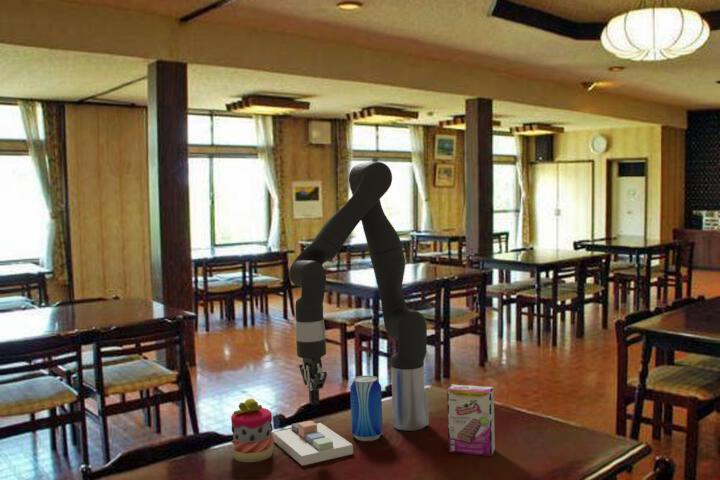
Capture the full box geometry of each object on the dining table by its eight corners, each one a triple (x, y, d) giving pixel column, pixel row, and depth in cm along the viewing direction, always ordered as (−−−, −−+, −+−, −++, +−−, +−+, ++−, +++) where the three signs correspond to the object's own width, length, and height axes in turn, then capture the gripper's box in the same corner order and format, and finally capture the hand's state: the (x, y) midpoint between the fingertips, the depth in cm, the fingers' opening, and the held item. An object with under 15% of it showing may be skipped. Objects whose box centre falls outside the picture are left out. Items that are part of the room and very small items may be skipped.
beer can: (380, 442, 180) (377, 383, 178) (349, 441, 181) (346, 382, 180) (385, 431, 188) (383, 374, 187) (355, 430, 189) (353, 374, 188)
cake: (228, 452, 177) (225, 395, 176) (267, 444, 181) (265, 389, 180) (237, 465, 167) (234, 406, 166) (279, 457, 171) (276, 399, 171)
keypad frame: (320, 431, 190) (320, 422, 190) (353, 453, 172) (352, 444, 172) (273, 441, 184) (273, 432, 183) (302, 465, 166) (301, 456, 166)
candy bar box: (447, 453, 170) (446, 389, 169) (451, 446, 175) (450, 383, 174) (492, 457, 167) (491, 391, 166) (495, 449, 172) (494, 386, 170)
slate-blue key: (319, 446, 178) (318, 431, 178) (325, 451, 175) (324, 435, 175) (306, 449, 177) (305, 434, 176) (311, 454, 173) (311, 438, 173)
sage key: (327, 452, 174) (326, 437, 174) (333, 457, 171) (332, 441, 171) (313, 455, 172) (312, 439, 172) (319, 460, 169) (318, 444, 169)
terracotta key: (311, 435, 183) (311, 420, 182) (317, 439, 179) (317, 424, 179) (298, 437, 181) (298, 423, 181) (304, 442, 177) (303, 427, 177)
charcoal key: (305, 435, 187) (304, 421, 187) (310, 439, 184) (310, 425, 183) (292, 438, 185) (291, 424, 185) (297, 442, 182) (297, 428, 182)
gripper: (335, 339, 170) (338, 407, 171) (313, 331, 181) (317, 394, 183) (307, 344, 166) (311, 413, 168) (287, 335, 178) (291, 399, 179)
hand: (314, 403), depth 175 cm, fingers closed
